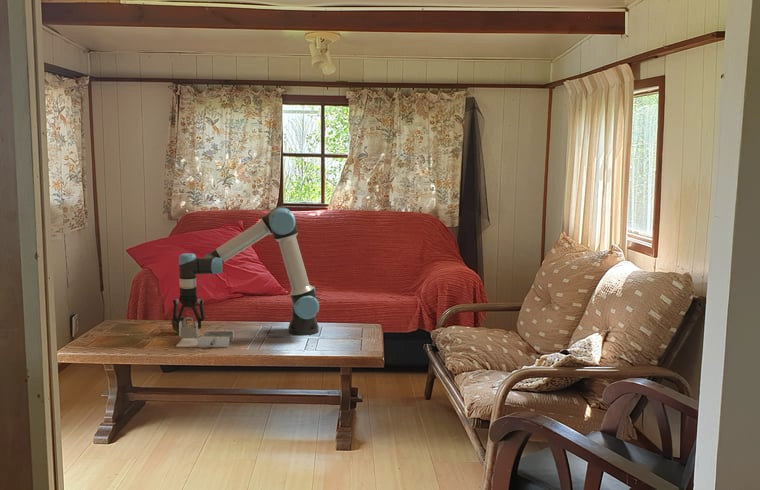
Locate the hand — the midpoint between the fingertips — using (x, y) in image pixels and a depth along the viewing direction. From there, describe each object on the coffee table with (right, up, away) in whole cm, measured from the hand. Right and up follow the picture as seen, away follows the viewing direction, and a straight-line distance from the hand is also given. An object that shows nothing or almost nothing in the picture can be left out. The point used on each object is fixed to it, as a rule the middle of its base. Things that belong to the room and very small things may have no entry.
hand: (189, 335), depth 320 cm
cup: (-9, -2, +16) cm, 19 cm away
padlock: (0, -1, 0) cm, 1 cm away
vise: (+12, -4, -1) cm, 13 cm away
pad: (0, -4, +1) cm, 4 cm away
